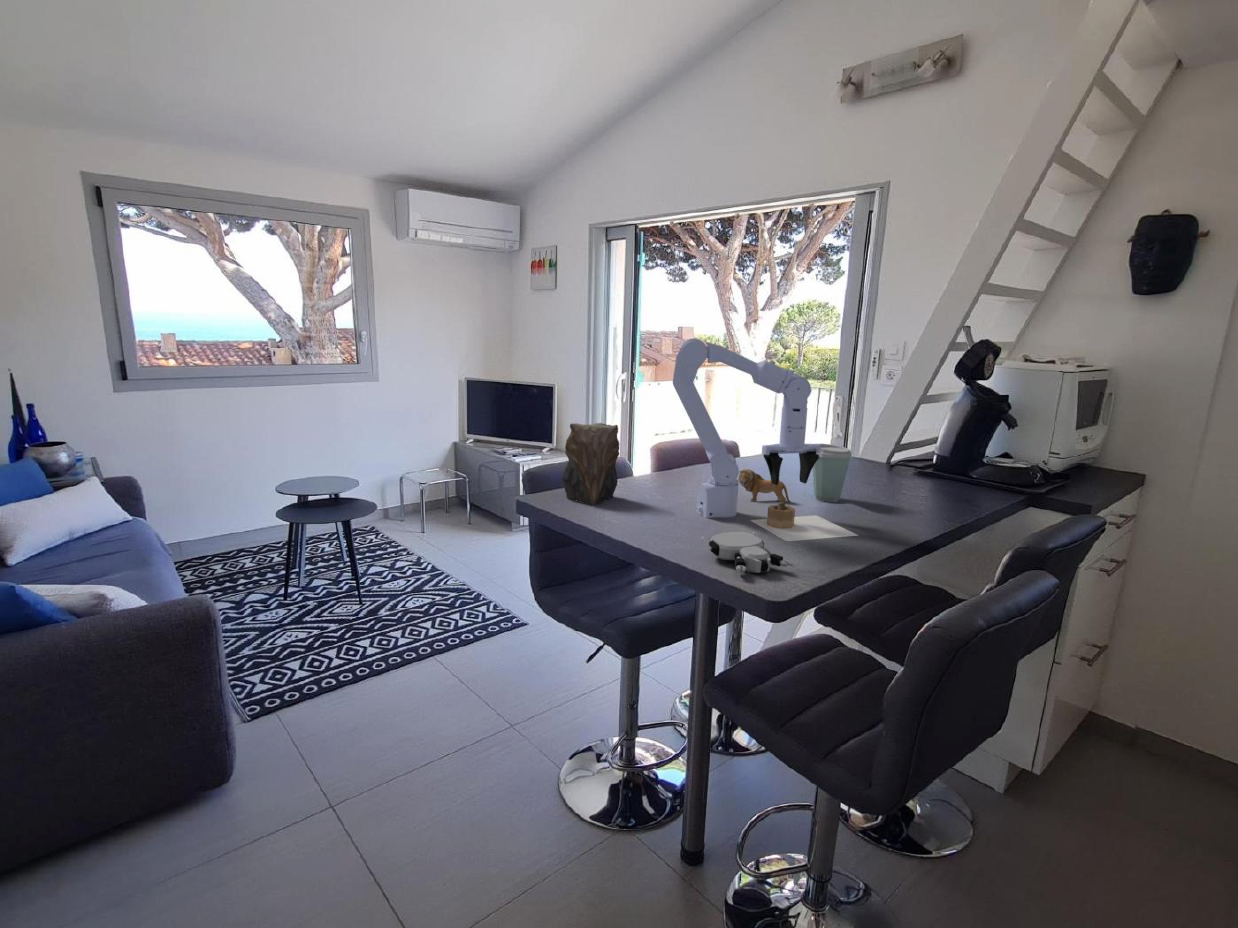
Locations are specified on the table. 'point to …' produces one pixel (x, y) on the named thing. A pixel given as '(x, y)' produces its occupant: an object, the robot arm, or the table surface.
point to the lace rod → (781, 506)
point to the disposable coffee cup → (830, 472)
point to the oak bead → (780, 517)
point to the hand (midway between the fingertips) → (789, 483)
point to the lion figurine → (761, 485)
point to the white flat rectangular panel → (807, 529)
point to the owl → (591, 462)
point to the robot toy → (744, 551)
